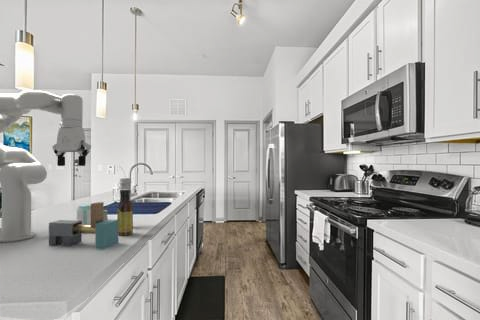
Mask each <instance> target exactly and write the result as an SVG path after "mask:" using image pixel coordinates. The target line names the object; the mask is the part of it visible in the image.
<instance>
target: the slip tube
mask: <svg viewBox="0 0 480 320" xmlns="http://www.w3.org/2000/svg"><path fill="white" fill-rule="evenodd" d="M90 205H91V222H90V225H82V224H73V233H82V234H91V235H92V234H94V235H96V224H97V223H100V222H103V210H105V209H104V205H105V203H104V202H103V201H102V202H100V201H97V202H93V203H90Z"/></svg>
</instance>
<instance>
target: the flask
mask: <svg viewBox="0 0 480 320" xmlns="http://www.w3.org/2000/svg"><path fill="white" fill-rule="evenodd" d="M108 212H109V210H107V209H103V221H107V220H109V218H108Z"/></svg>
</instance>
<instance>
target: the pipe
mask: <svg viewBox="0 0 480 320" xmlns="http://www.w3.org/2000/svg"><path fill="white" fill-rule="evenodd" d="M119 168H120V169H121V170H122V171H123V173H124V177H120V178H119V182H118V184H119V191H120V190H121V189H130V190H131V184H132V178H131V177H126V172H125V170H124V169H123V168H122V167H121V166H119ZM120 198H121V196H120V195H119V199H120Z"/></svg>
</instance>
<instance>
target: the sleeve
mask: <svg viewBox="0 0 480 320" xmlns="http://www.w3.org/2000/svg"><path fill="white" fill-rule="evenodd" d="M73 224H82V221H77V220H71V219H70V220H69V219H67V220H66V219H65V220H64V219H60V220H59V219H58V220H55V221H50V222H49V223H48V247H49V246H51V247H54V246H55V247H56V246H59V245H62V247H72V246H75V245H77V244H80V243H83V241H82V239H83V236H82V235H83V233H73Z"/></svg>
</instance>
